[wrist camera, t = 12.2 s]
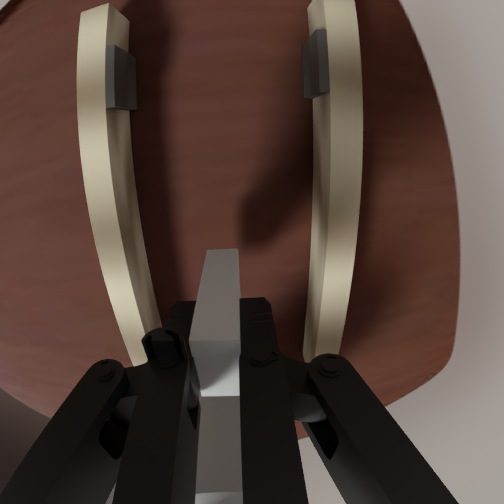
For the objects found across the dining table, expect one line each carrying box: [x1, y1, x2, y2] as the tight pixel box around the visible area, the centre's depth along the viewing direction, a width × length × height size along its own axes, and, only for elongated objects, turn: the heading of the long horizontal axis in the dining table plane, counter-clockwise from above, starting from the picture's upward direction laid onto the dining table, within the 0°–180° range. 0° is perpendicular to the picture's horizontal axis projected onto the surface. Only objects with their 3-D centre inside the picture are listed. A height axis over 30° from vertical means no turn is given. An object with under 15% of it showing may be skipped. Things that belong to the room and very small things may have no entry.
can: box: [195, 392, 243, 504], centre depth 16 cm, size 8×8×12 cm
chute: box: [77, 0, 363, 366], centre depth 16 cm, size 30×13×3 cm, turn 2°
